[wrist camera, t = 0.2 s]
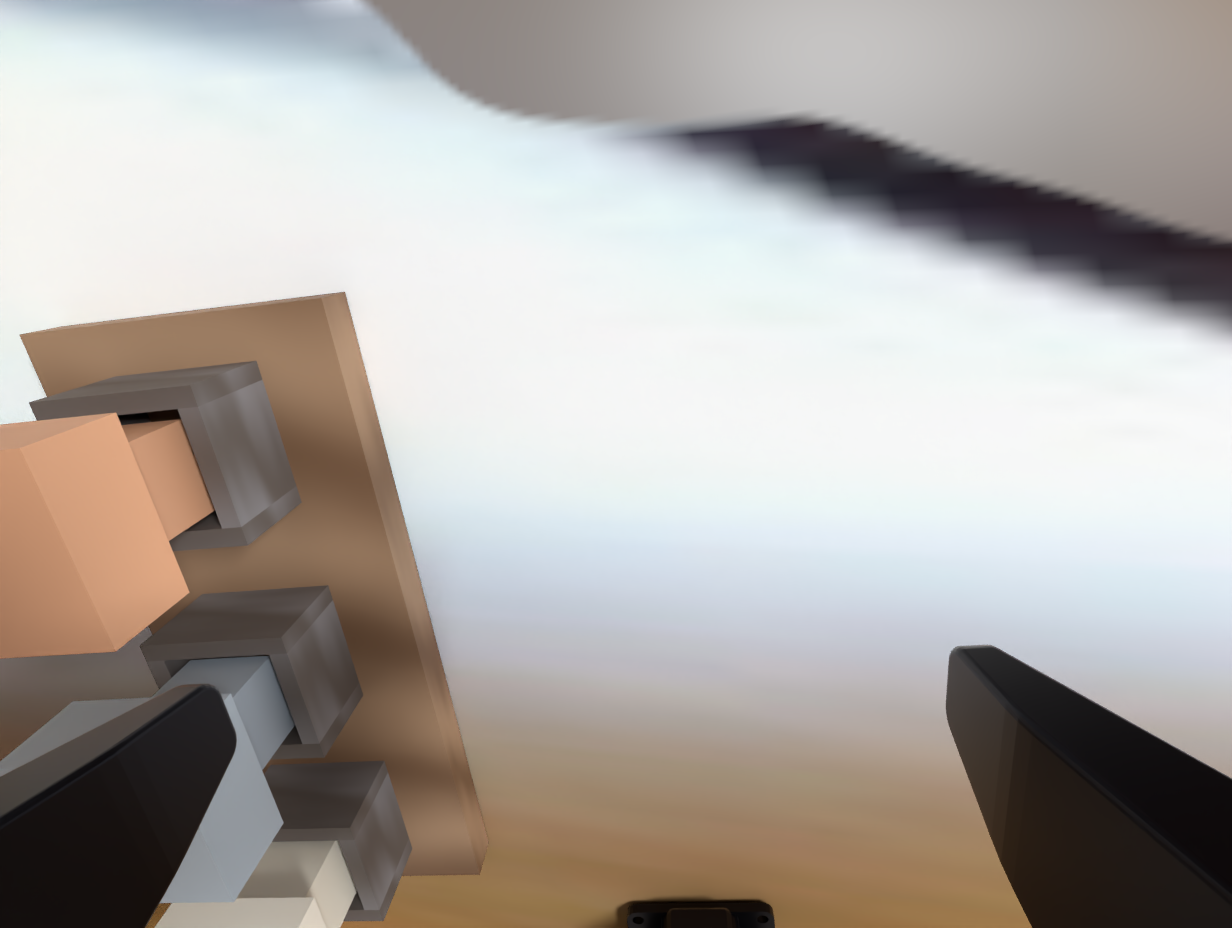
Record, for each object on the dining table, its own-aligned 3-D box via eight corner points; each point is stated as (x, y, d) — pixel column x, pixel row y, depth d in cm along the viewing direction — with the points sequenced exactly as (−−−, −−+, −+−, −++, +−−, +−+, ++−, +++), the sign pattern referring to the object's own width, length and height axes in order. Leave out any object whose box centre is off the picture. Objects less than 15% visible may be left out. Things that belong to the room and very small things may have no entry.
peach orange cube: (258, 537, 19) (115, 651, 14) (112, 549, 20) (-74, 662, 15) (202, 380, 18) (19, 448, 13) (44, 397, 18) (-190, 469, 13)
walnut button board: (488, 842, 29) (458, 948, 25) (279, 847, 30) (216, 949, 26) (344, 291, 21) (262, 312, 16) (61, 326, 22) (-84, 354, 18)
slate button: (331, 746, 22) (234, 902, 17) (202, 751, 23) (71, 904, 18) (289, 627, 21) (167, 762, 16) (150, 636, 21) (-10, 769, 16)
